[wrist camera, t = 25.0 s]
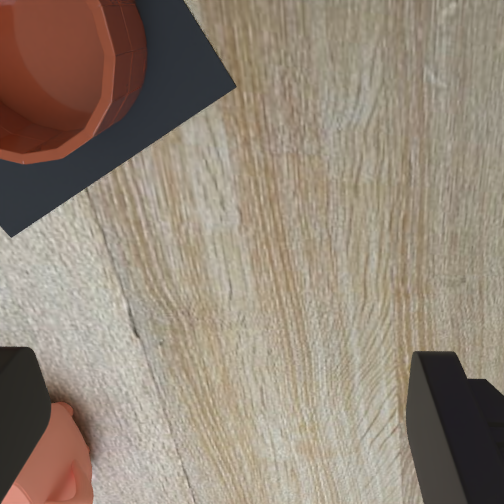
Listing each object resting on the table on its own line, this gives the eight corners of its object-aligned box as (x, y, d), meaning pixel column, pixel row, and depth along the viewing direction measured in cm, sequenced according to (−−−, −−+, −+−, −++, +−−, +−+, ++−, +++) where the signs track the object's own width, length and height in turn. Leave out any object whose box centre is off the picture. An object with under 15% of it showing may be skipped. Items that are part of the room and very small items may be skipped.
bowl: (60, -117, 25) (-3, -150, 20) (184, 75, 29) (159, 91, 24) (-76, 10, 28) (-161, 11, 23) (51, 167, 32) (4, 199, 27)
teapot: (144, 441, 44) (106, 552, 35) (76, 497, 49) (26, 608, 40) (11, 352, 40) (-70, 450, 31) (-50, 422, 45) (-136, 525, 36)
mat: (0, -296, 22) (-1, -297, 22) (236, 86, 29) (236, 86, 29) (-230, -26, 28) (-232, -26, 28) (11, 237, 35) (11, 237, 35)
